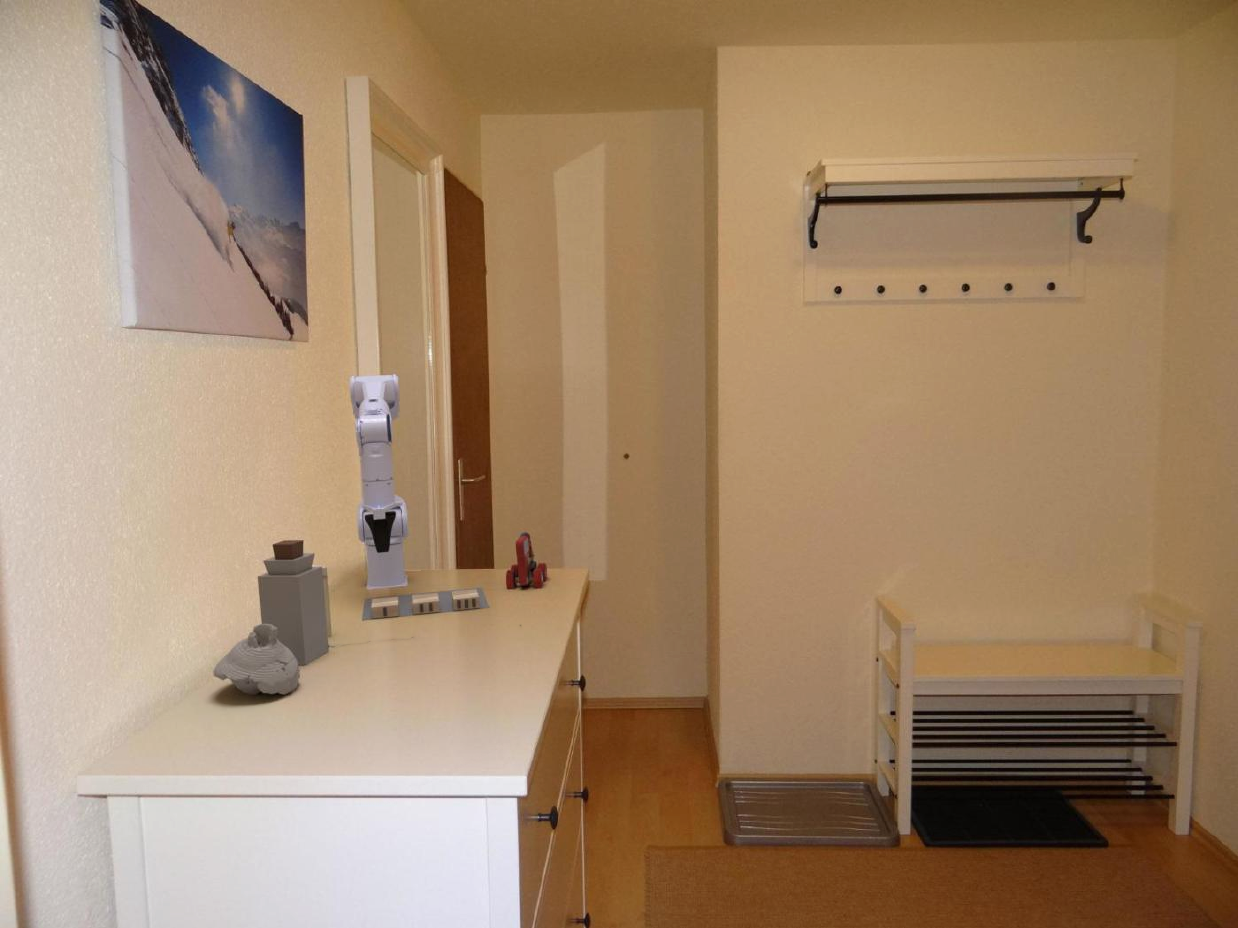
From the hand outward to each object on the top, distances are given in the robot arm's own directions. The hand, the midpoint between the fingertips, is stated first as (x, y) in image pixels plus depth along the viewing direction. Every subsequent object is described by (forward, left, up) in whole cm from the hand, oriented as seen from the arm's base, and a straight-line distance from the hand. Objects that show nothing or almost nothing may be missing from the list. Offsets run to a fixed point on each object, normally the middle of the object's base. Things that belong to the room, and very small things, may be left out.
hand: (383, 551), depth 171 cm
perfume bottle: (+29, -13, -10) cm, 33 cm away
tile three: (+7, +14, -8) cm, 18 cm away
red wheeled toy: (-3, +27, -10) cm, 29 cm away
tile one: (+7, 0, -8) cm, 11 cm away
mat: (+5, +7, -10) cm, 13 cm away
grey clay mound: (+42, -16, -10) cm, 46 cm away
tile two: (+7, +7, -8) cm, 13 cm away
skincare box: (+21, -12, -10) cm, 26 cm away
